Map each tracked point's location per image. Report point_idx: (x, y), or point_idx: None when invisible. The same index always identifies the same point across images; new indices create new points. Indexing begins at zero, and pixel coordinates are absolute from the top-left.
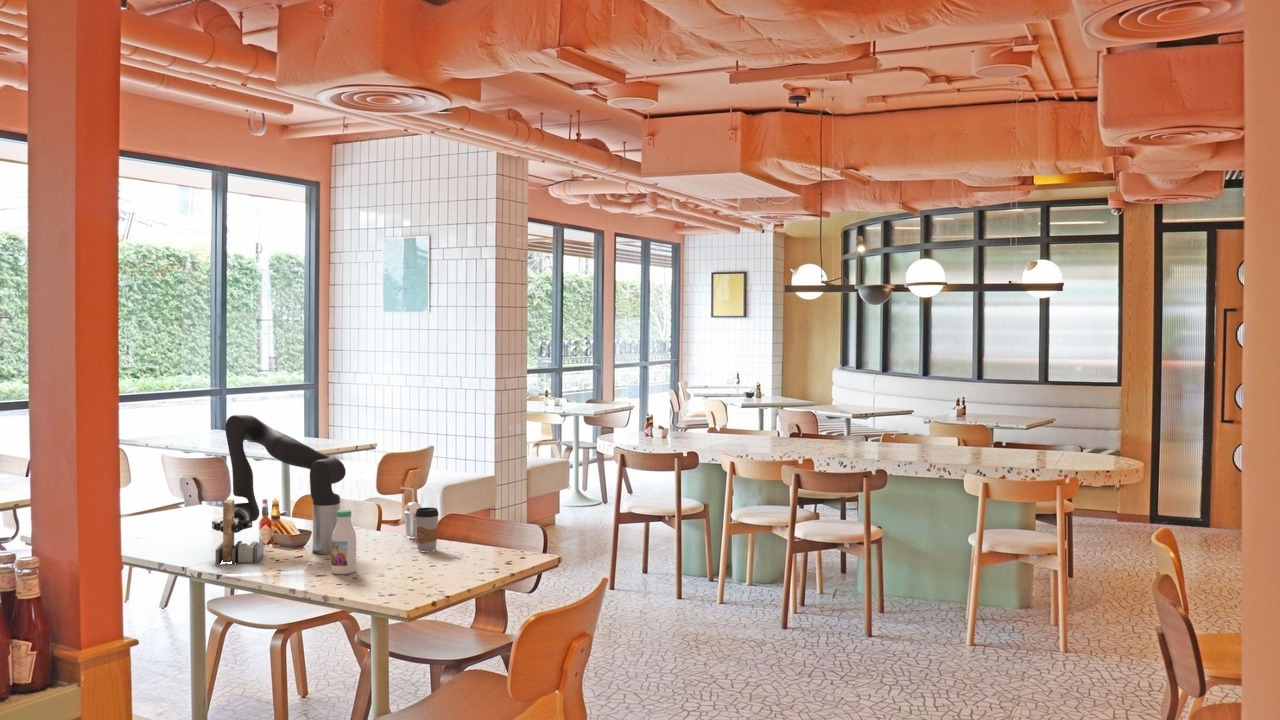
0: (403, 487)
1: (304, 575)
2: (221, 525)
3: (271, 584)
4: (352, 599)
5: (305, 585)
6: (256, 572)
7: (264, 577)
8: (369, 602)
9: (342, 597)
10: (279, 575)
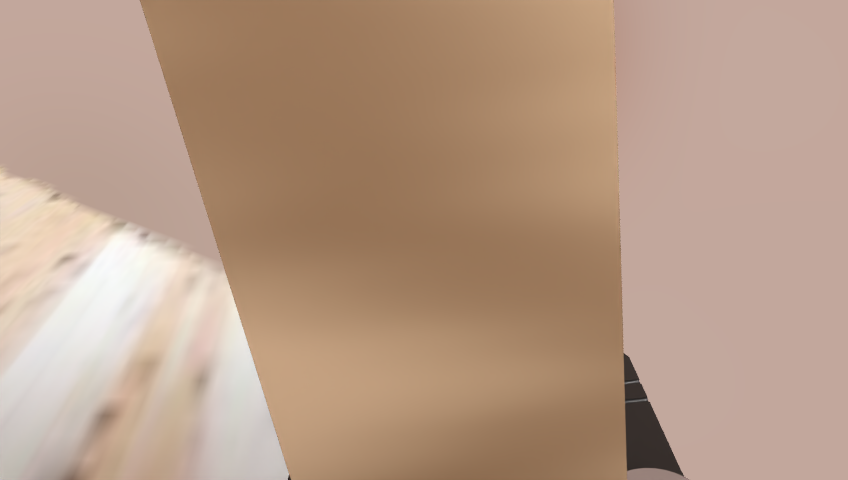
0: None
1: (4, 372)
2: (669, 466)
3: (207, 266)
4: (41, 190)
5: (88, 262)
6: (237, 435)
7: (212, 344)
8: (19, 182)
9: (53, 197)
10: (124, 374)
